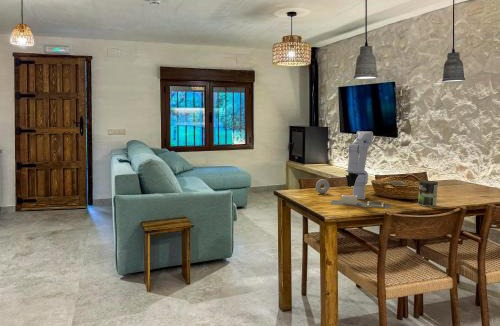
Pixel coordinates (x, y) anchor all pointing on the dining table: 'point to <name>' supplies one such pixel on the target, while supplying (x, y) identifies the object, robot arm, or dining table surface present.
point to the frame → (374, 205)
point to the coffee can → (427, 193)
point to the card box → (349, 199)
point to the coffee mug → (397, 183)
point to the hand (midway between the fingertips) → (350, 186)
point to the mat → (360, 204)
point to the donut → (318, 186)
